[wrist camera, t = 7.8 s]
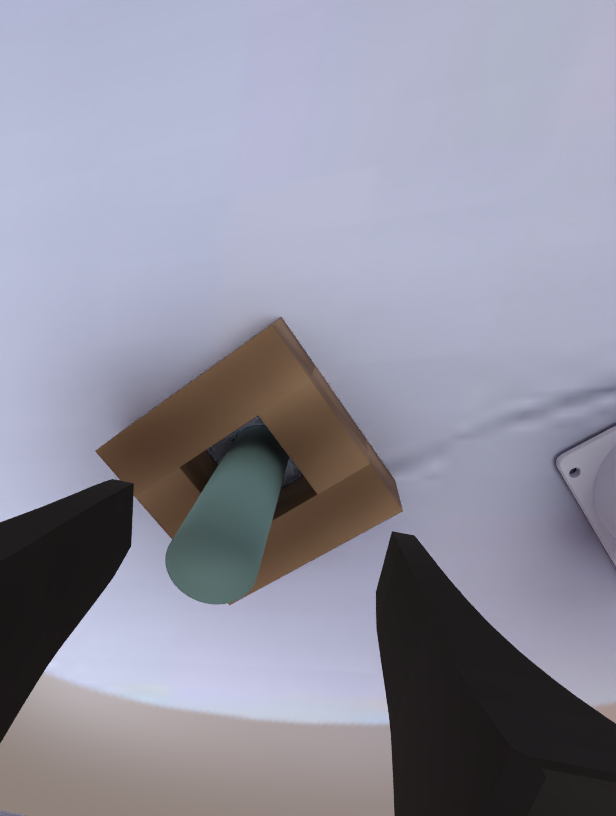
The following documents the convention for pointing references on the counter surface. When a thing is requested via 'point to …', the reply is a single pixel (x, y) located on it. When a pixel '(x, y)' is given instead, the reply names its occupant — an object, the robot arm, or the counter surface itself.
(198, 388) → the hole block
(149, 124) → the counter surface
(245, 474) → the peg
